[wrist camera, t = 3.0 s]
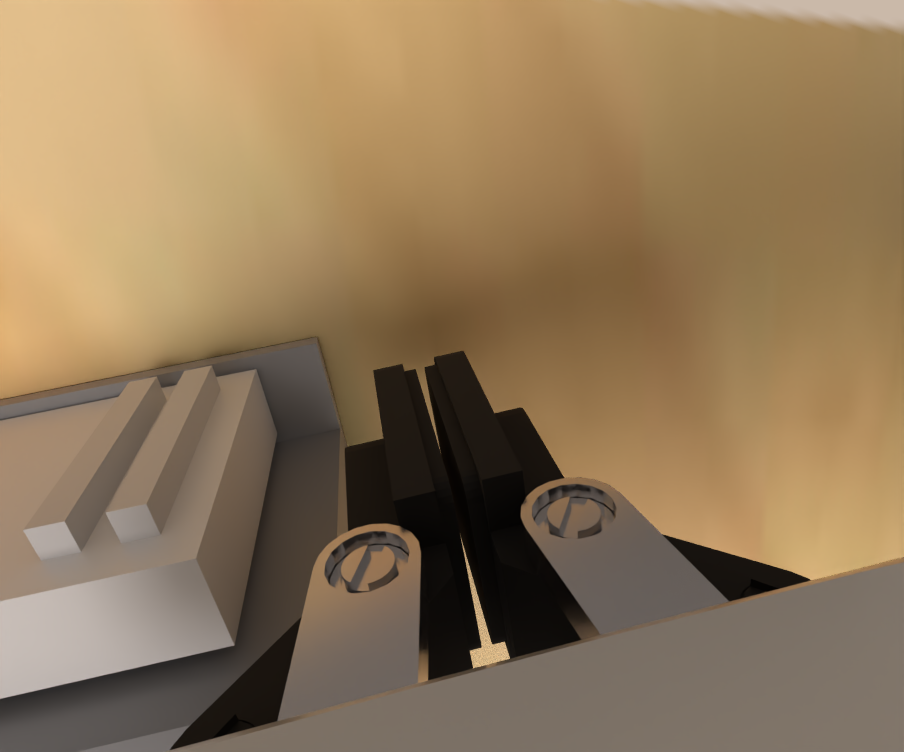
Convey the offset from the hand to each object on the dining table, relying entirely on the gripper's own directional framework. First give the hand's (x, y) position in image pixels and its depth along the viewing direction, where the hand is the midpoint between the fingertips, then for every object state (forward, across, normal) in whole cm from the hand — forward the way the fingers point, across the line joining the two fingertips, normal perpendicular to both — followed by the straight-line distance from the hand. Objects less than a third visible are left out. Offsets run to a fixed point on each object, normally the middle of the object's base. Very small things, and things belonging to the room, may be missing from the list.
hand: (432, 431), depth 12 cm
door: (+4, +8, 0) cm, 9 cm away
